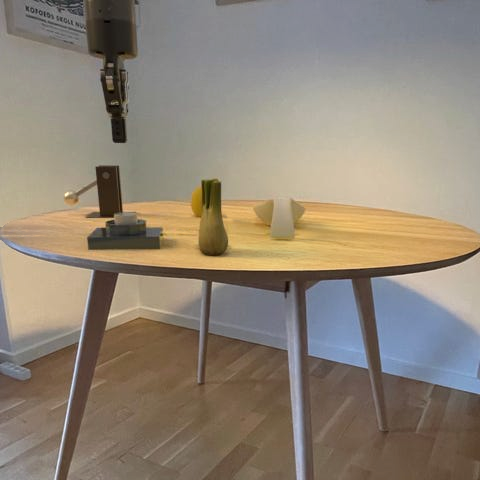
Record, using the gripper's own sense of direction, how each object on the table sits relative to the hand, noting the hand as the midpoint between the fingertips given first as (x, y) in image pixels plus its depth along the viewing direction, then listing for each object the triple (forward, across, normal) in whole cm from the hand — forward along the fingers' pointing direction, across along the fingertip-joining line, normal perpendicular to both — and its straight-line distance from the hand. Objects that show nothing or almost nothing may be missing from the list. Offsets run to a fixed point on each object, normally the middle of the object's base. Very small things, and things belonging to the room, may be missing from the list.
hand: (120, 142), depth 77 cm
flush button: (+13, 0, 0) cm, 13 cm away
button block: (+17, 0, 0) cm, 17 cm away
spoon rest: (+17, -14, +30) cm, 37 cm away
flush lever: (+11, -27, -11) cm, 31 cm away
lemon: (+17, -25, +14) cm, 33 cm away
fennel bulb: (+17, +8, +15) cm, 24 cm away
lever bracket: (+17, -27, -7) cm, 33 cm away
